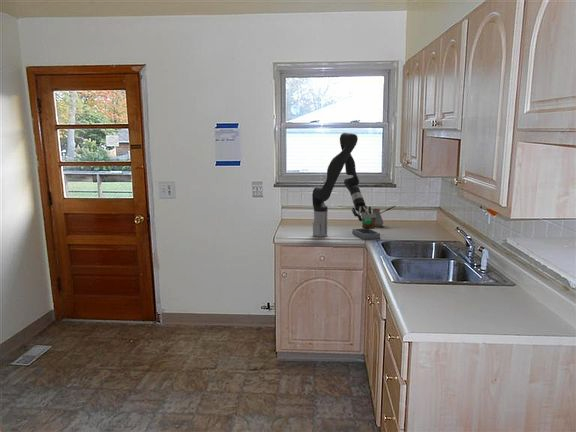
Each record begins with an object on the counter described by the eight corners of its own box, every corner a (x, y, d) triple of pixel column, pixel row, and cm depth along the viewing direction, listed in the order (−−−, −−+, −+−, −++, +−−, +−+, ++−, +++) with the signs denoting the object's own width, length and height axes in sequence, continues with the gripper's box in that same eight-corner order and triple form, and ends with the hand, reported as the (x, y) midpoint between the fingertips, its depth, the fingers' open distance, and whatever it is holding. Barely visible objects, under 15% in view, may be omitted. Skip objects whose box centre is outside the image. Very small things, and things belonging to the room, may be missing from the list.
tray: (363, 239, 283) (363, 234, 283) (352, 233, 300) (352, 229, 300) (380, 238, 287) (380, 233, 286) (367, 232, 304) (368, 227, 303)
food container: (356, 226, 296) (357, 212, 294) (363, 225, 299) (364, 211, 297) (368, 230, 286) (369, 215, 284) (375, 229, 289) (376, 214, 287)
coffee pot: (370, 228, 318) (371, 208, 316) (365, 225, 330) (366, 205, 327) (398, 227, 322) (399, 207, 319) (392, 223, 333) (393, 204, 330)
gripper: (350, 197, 297) (357, 218, 288) (369, 196, 301) (376, 216, 292) (347, 204, 303) (353, 224, 294) (365, 202, 307) (373, 222, 298)
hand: (365, 220), depth 293 cm, fingers closed on food container, 5 cm apart
